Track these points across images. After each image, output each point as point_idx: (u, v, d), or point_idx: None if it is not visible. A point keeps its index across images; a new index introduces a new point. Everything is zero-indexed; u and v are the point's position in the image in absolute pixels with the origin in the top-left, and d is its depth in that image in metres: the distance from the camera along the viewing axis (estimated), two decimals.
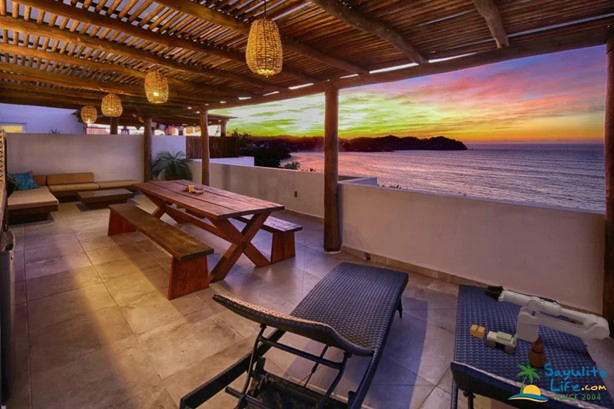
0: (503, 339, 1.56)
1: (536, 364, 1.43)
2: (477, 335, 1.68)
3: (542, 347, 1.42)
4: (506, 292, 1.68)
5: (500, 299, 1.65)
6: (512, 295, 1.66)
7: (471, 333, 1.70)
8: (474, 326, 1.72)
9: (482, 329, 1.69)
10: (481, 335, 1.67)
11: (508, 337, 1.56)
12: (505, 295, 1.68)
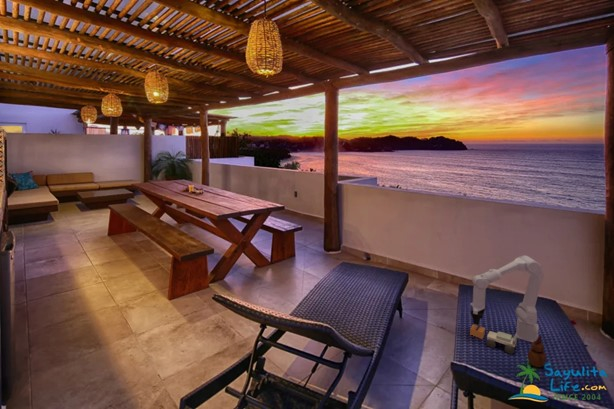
0: (503, 339, 1.56)
1: (536, 364, 1.43)
2: (477, 335, 1.68)
3: (542, 347, 1.42)
4: (473, 304, 1.68)
5: (475, 312, 1.63)
6: (473, 299, 1.67)
7: (471, 333, 1.70)
8: (474, 326, 1.72)
9: (482, 329, 1.69)
10: (481, 335, 1.67)
11: (508, 337, 1.56)
12: (475, 305, 1.67)
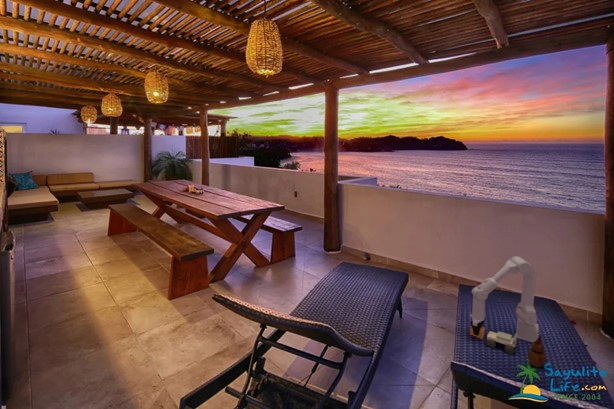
0: (503, 339, 1.56)
1: (536, 364, 1.43)
2: None
3: (542, 347, 1.42)
4: (472, 315, 1.69)
5: (474, 324, 1.64)
6: (473, 311, 1.68)
7: (471, 333, 1.70)
8: None
9: (482, 329, 1.69)
10: (481, 335, 1.67)
11: (508, 337, 1.56)
12: (474, 317, 1.68)
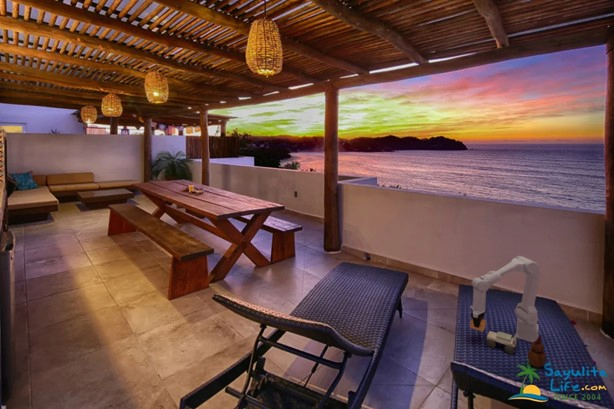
0: (503, 339, 1.56)
1: (536, 364, 1.43)
2: None
3: (542, 347, 1.42)
4: (473, 307, 1.64)
5: (475, 315, 1.59)
6: (473, 302, 1.63)
7: (471, 325, 1.65)
8: None
9: (483, 321, 1.64)
10: (481, 327, 1.62)
11: (508, 337, 1.56)
12: (475, 309, 1.63)
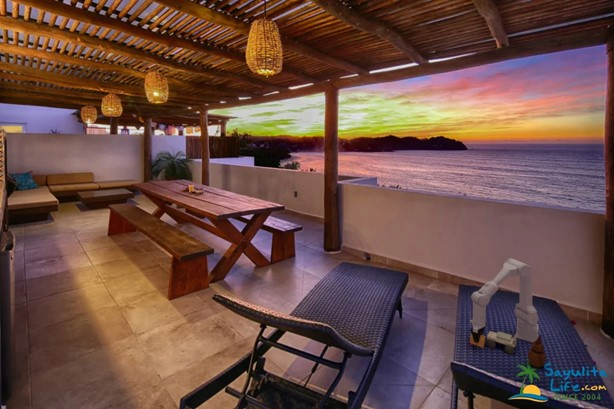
0: (503, 339, 1.56)
1: (536, 364, 1.43)
2: (477, 344, 1.61)
3: (542, 347, 1.42)
4: (473, 321, 1.62)
5: (475, 330, 1.56)
6: (473, 317, 1.61)
7: (471, 341, 1.63)
8: None
9: (482, 337, 1.61)
10: (481, 344, 1.59)
11: (508, 337, 1.56)
12: (475, 323, 1.60)
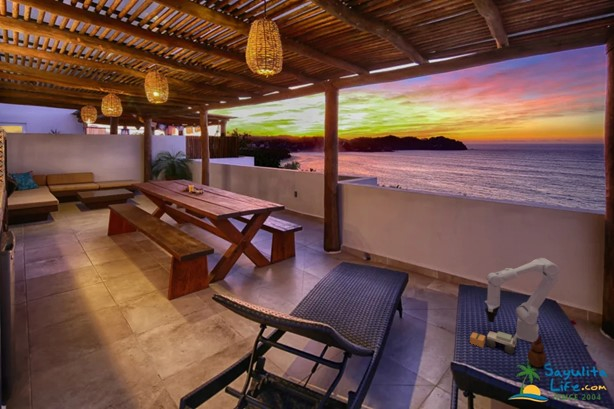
0: (503, 339, 1.56)
1: (536, 364, 1.43)
2: (477, 344, 1.61)
3: (542, 347, 1.42)
4: (487, 301, 1.68)
5: (490, 310, 1.62)
6: (488, 297, 1.66)
7: (471, 341, 1.63)
8: (474, 334, 1.65)
9: (482, 337, 1.61)
10: (481, 344, 1.59)
11: (508, 337, 1.56)
12: (490, 303, 1.66)
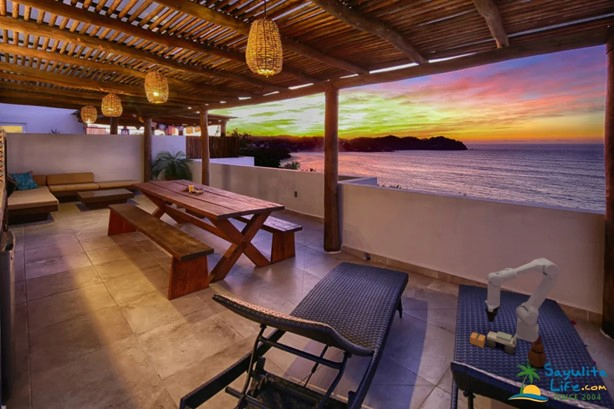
0: (503, 339, 1.56)
1: (536, 364, 1.43)
2: (477, 344, 1.61)
3: (542, 347, 1.42)
4: (487, 301, 1.68)
5: (490, 310, 1.62)
6: (488, 297, 1.66)
7: (471, 341, 1.63)
8: (474, 334, 1.65)
9: (482, 337, 1.61)
10: (481, 344, 1.59)
11: (508, 337, 1.56)
12: (490, 303, 1.66)
